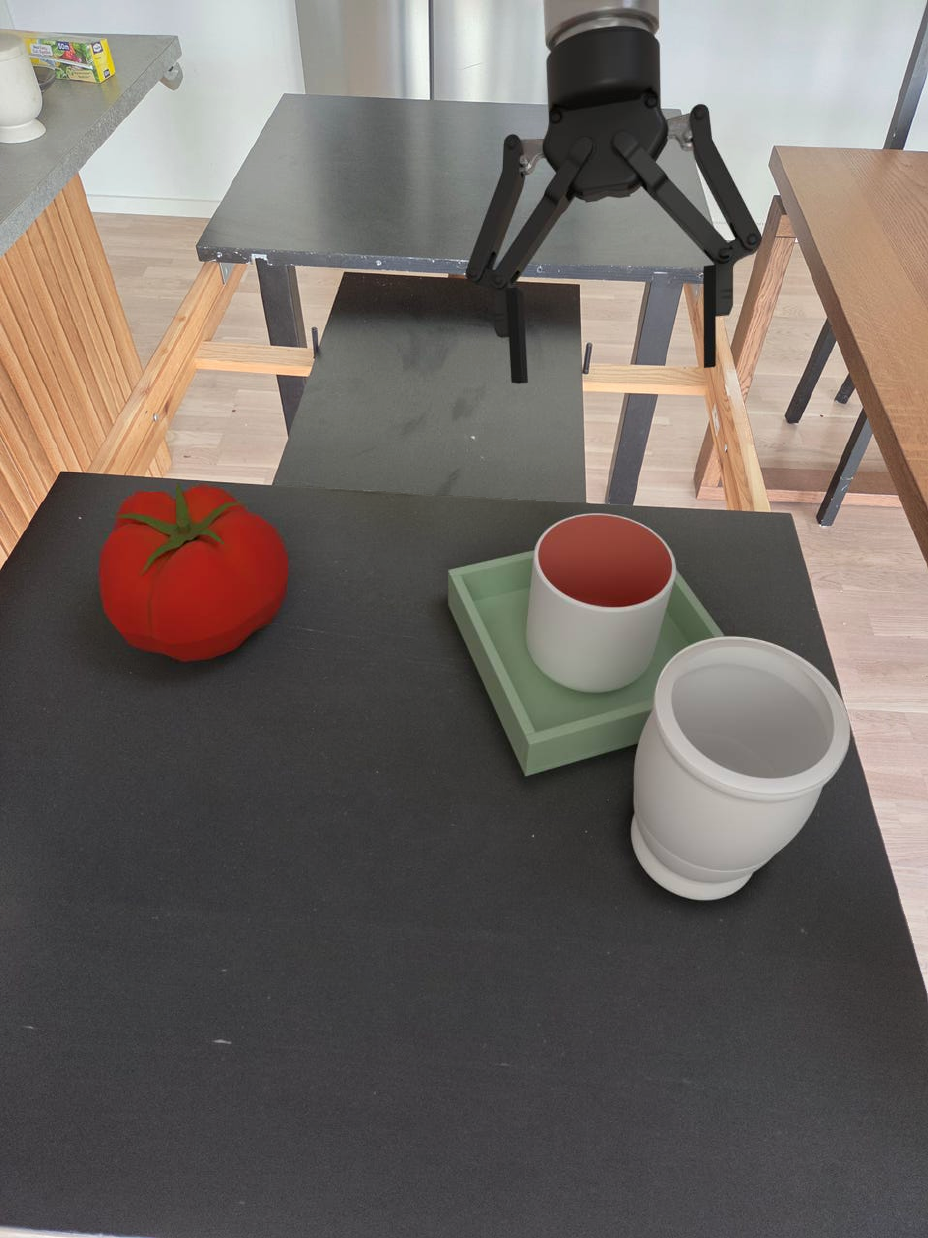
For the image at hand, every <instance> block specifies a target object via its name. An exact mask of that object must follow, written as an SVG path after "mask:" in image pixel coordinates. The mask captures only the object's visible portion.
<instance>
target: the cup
mask: <svg viewBox="0 0 928 1238" xmlns="http://www.w3.org/2000/svg"><path fill="white" fill-rule="evenodd" d="M676 570H677V565H676V559H675V556H674V554H673V551H672V549H671V548H670V547H669V545H668V544H667V542H666V541H665V540H664V539H663V538H662V537H661V536H660V535H659V534H658V533H657V532H655V531H654V530H653V529H651V528H650V527H648V526H647V525H645V524H643V523H641V522H639V521H636V520H634V519H631V518H628V517H625V516H622V515H616V514H611V513H599V512H598V513H596V512H595V513H594V512H593V513H591V512H590V513H582V514H576V515H573V516H569V517H566V518H564V519H561V520H559V521H557V522H555V523H554V524H552V525H551V526H549V527H548V528H547V529H546V530H544V532H543V533H542V534H541V535H540V537H539V538H538V540H537V541H536V544H535V547H534V557H533V567H532V577H531V587H530V597H529V606H528V616H527V626H526V644H527V648H528V651H529V654H530V656H531V658H532V660H533V661H534V663H535V664H536V666H537V667H538V668H539V669H540V670H541V671H542V672H543V673H544V674H545V675H546V676H547V677H548V678H550V679H551V680H553V681H554V682H556V683H558V684H560V685H562V686H564V687H567V688H569V689H573V690H576V691H581V692H589V693H602V692H609V691H614V690H618V689H620V688H623V687H625V686H627V685H629V684H631V683H632V682H634V681H635V680H637V679H638V678H639V677H640V676H641V675H642V674H643V673H644V672H645V670H646V669H647V668H648V666H649V664H650V662H651V660H652V657H653V654H654V651H655V647H656V643H657V640H658V636H659V633H660V629H661V625H662V622H663V618H664V615H665V611H666V608H667V604H668V601H669V597H670V594H671V590H672V586H673V583H674V579H675V575H676Z"/></svg>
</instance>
